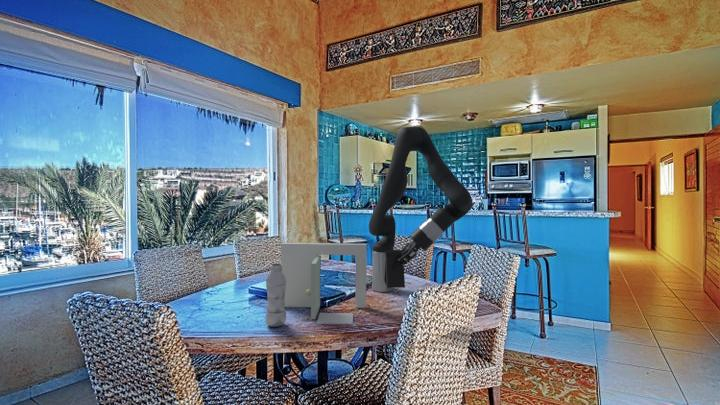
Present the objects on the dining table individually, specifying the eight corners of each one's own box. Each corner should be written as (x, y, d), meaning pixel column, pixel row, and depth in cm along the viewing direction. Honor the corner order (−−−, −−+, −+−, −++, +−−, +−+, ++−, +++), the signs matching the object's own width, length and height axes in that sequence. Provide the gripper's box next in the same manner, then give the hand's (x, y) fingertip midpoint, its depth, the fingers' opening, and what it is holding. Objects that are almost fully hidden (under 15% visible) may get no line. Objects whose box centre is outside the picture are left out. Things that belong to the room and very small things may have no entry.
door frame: (282, 305, 145) (282, 242, 144) (365, 306, 145) (366, 243, 144) (269, 323, 126) (269, 251, 125) (366, 324, 126) (366, 252, 125)
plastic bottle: (267, 322, 127) (267, 262, 126) (287, 321, 128) (287, 262, 127) (263, 329, 121) (263, 267, 120) (285, 329, 121) (285, 266, 121)
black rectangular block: (404, 287, 128) (405, 252, 128) (387, 287, 128) (387, 252, 127) (400, 281, 137) (401, 248, 137) (384, 281, 137) (384, 248, 136)
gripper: (416, 224, 138) (382, 257, 139) (422, 228, 124) (384, 265, 125) (430, 238, 139) (396, 271, 139) (438, 245, 125) (400, 281, 125)
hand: (391, 268), depth 132 cm, fingers closed on black rectangular block, 3 cm apart
